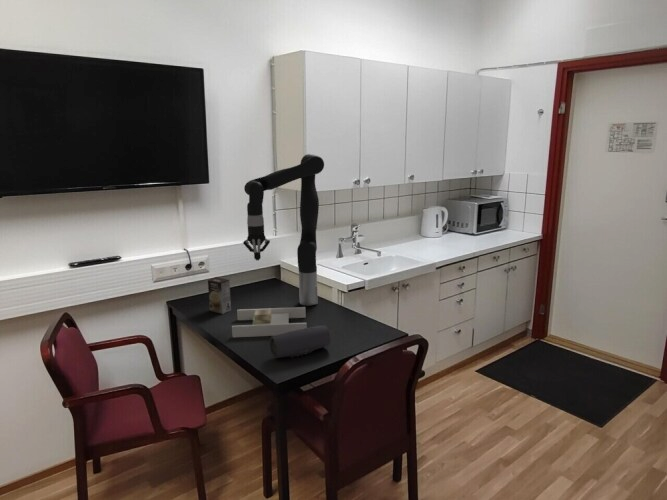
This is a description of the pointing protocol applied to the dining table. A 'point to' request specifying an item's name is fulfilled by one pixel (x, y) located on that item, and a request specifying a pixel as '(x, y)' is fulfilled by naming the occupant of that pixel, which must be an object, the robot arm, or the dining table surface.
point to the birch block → (262, 316)
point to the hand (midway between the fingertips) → (257, 260)
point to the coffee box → (219, 295)
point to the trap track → (269, 329)
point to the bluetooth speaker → (299, 341)
